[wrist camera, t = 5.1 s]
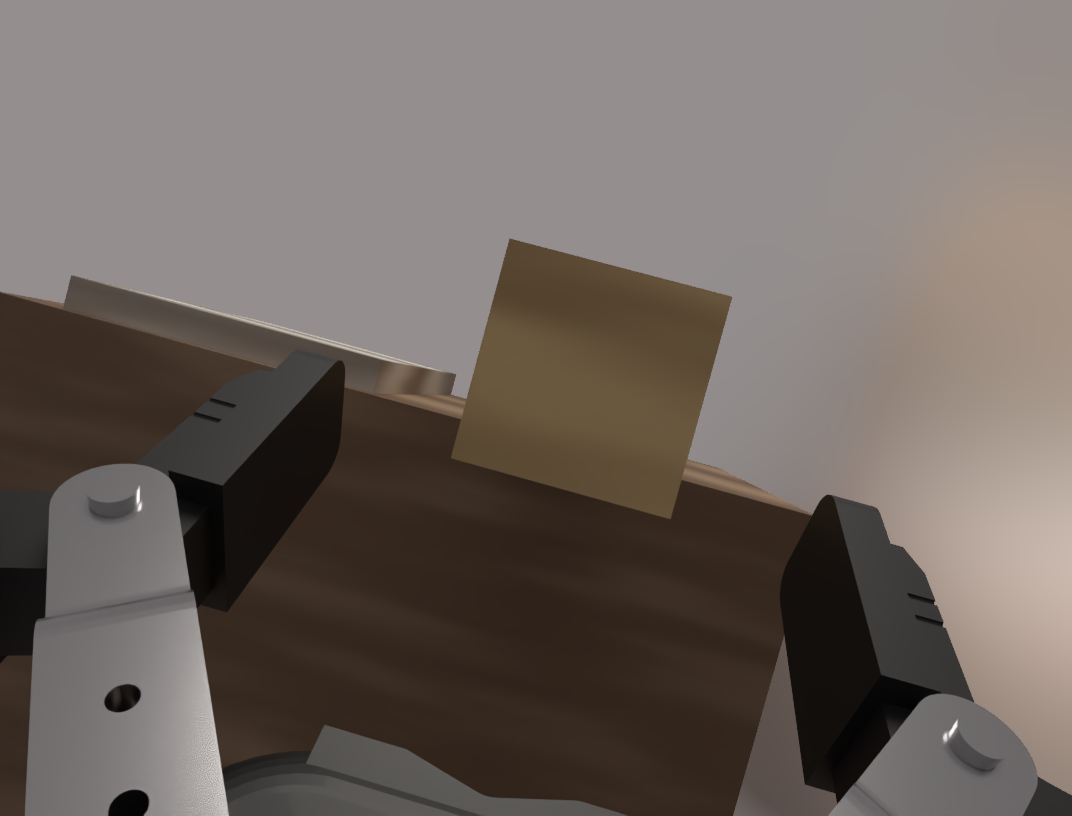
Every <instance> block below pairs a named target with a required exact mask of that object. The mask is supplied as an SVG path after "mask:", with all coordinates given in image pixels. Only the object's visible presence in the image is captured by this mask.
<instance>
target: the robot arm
mask: <svg viewBox="0 0 1072 816" xmlns="http://www.w3.org/2000/svg"><path fill="white" fill-rule="evenodd" d="M344 386H345V365H344V363H343V361H341V360H338V359H334V358H330V357H327V356H323V355H319V354H316V353H312V352H308V351H305V350H301V349H297V350H295V351H294V352H292V353H291V354H290V355H289V356H288V357H287V358H286V359H285V360H284V361H283V362H282V363H281V364H280V365H279V366H278V367H277V368H276V369H274V370H273V371H272V372H268V371H264V370H261V369H258V370H255V371H253V372H250V373H248V374H245V375H243V376H240V377H238V378H235V379H233V380H230V381H229V382H228V383H227V384H225V385H224V386H223V387H222V388H221V389H220V390H219V391H218V392H216V393H215V394H214V395H213V396H212V397H211V398H210V401H209V402H208V401H206V402H205V403H204V404H203V405H202V406H201V407H199V408H198V409H197V410H196V411H195V412H194V415H193V416H191V415H190V416H189V417H188V418H187V419H186V420H185V421H183V422H182V423H181V424H180V425H179V426H178V427H177V428H176V429H174V430H173V431H172V432H171V433H170V434H169V435H168V436H166V437H165V438H164V439H163V440H162V441H161V442H160V443H159V444H157V445H156V446H155V447H154V448H153V449H152V450H151V451H149V452H148V453H147V454H146V455H145V456H144V457H143V458H142V459H140V460H139V461H138V462H137V463H136V464H112V465H105V466H100V467H96V468H92V469H90V470H87V471H84V472H82V473H79V474H77V475H75V476H73V477H72V478H70V479H69V480H67V481H66V482H64V483H63V484H62V485H61V486H60V487H59V488H58V489H57V490H56V491H55V492H35V491H11V490H0V663H1V662H2V661H3V660H4V659H5V658H6V657H7V656H33V660H32V680H31V701H30V721H29V741H28V761H27V781H26V801H25V816H628V815H625V814H621V813H618V812H615V811H611V810H608V809H605V808H601V807H598V806H595V805H591V804H588V803H585V802H581V801H574V800H546V799H517V798H494V797H488V796H485V795H482V794H480V793H478V792H476V791H475V790H473V789H471V788H470V787H468V786H466V785H465V784H463V783H461V782H460V781H458V780H456V779H455V778H453V777H451V776H450V775H448V774H446V773H445V772H443V771H441V770H440V769H438V768H437V767H435V766H433V765H432V764H430V763H428V762H427V761H425V760H423V759H422V758H420V757H418V756H417V755H415V754H413V753H412V752H410V751H408V750H407V749H404V748H400V747H397V746H394V745H390V744H387V743H384V742H380V741H377V740H374V739H370V738H367V737H364V736H360V735H357V734H354V733H350V732H347V731H344V730H340V729H337V728H334V727H330V726H327V725H324V727H323V729H322V731H321V733H320V735H319V737H318V739H317V741H316V744H315V746H314V748H313V750H312V751H289V752H278V753H272V754H267V755H262V756H257V757H253V758H250V759H247V760H244V761H241V762H237V763H234V764H231V765H229V766H227V767H225V768H221V761H220V755H219V749H218V742H217V736H216V729H215V723H214V717H213V710H212V704H211V697H210V691H209V685H208V678H207V672H206V665H205V659H204V653H203V646H202V640H201V633H200V627H199V621H198V614H197V608H198V607H199V606H200V605H203V606H206V607H209V608H213V609H216V610H220V611H223V612H228V610H229V609H230V608H231V606H232V605H233V604H234V602H235V601H236V600H237V598H238V597H239V595H240V594H241V593H242V591H243V590H244V589H245V587H246V586H247V584H248V583H249V582H250V580H251V579H252V578H253V576H254V575H255V573H256V572H257V571H258V569H259V568H260V567H261V565H262V564H263V562H264V561H265V560H266V558H267V557H268V556H269V554H270V553H271V551H272V550H273V549H274V547H275V546H276V545H277V543H278V542H279V540H280V539H281V538H282V536H283V535H284V534H285V532H286V531H287V529H288V528H289V527H290V525H291V524H292V523H293V521H294V520H295V518H296V517H297V516H298V514H299V513H300V512H301V510H302V509H303V507H304V506H305V505H306V503H307V502H308V501H309V499H310V498H311V497H312V495H313V494H314V492H315V491H316V490H317V488H318V487H319V486H320V484H321V483H322V481H323V480H324V479H325V477H326V476H327V475H328V473H329V471H330V470H331V468H332V466H333V464H334V461H335V459H336V456H337V453H338V449H339V445H340V440H341V428H342V414H343V400H344ZM934 602H935V599H934V596H933V594H932V591H931V588H930V586H929V583H928V581H927V578H926V575H925V573H924V572H923V571H922V570H921V569H920V567H919V566H918V565H917V564H916V563H915V561H914V560H913V559H912V558H911V556H910V555H909V554H908V553H907V552H906V551H905V549H904V548H903V547H900V546H896V545H893V544H890V541H889V538H888V536H887V532H886V529H885V527H884V524H883V521H882V518H881V515H880V513H879V511H878V509H877V508H875V507H873V506H869V505H865V504H862V503H858V502H854V501H851V500H847V499H843V498H840V497H836V496H832V495H826V496H825V497H823V499H822V500H821V501H820V502H819V504H818V506H817V507H816V509H815V511H814V513H813V515H812V517H811V519H810V521H809V522H808V524H807V526H806V528H805V530H804V532H803V534H802V536H801V538H800V540H799V541H798V543H797V545H796V547H795V549H794V551H793V553H792V555H791V557H790V559H789V561H788V563H787V565H786V567H785V570H784V573H783V577H782V581H781V587H780V606H781V613H782V621H783V628H784V635H785V643H786V650H787V657H788V665H789V671H790V679H791V686H792V693H793V701H794V708H795V715H796V723H797V730H798V737H799V744H800V752H801V759H802V767H803V774H804V781H805V785H809V786H812V787H816V788H819V789H822V790H826V791H829V792H833V793H836V799H837V806H836V807H835V808H834V809H833V811H832V812H831V813H830V814H829V816H1072V795H1070V794H1068V793H1066V792H1064V791H1062V790H1061V789H1059V788H1057V787H1055V786H1053V785H1051V784H1049V783H1048V782H1046V781H1044V780H1043V779H1041V778H1039V777H1038V776H1037V771H1036V767H1035V765H1034V762H1033V760H1032V758H1031V756H1030V754H1029V752H1028V750H1027V749H1026V747H1025V746H1024V745H1023V743H1022V742H1021V740H1020V739H1019V738H1018V737H1017V736H1016V735H1015V733H1014V732H1013V731H1012V730H1011V729H1010V728H1009V727H1008V726H1007V725H1006V724H1004V723H1003V722H1002V721H1001V720H1000V719H998V718H997V717H996V716H995V715H993V714H992V713H990V712H989V711H987V710H986V709H985V708H983V707H981V706H979V705H977V704H976V703H974V700H973V698H972V695H971V693H970V690H969V687H968V685H967V682H966V680H965V677H964V675H963V672H962V669H961V667H960V664H959V661H958V659H957V656H956V654H955V651H954V648H953V646H952V643H951V640H950V638H949V635H948V633H947V630H946V628H943V620H942V617H941V614H940V612H939V609H938V607H937V606H936V605H934Z"/></svg>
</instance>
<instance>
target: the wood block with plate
mask: <svg viewBox="0 0 1072 816" xmlns="http://www.w3.org/2000/svg"><path fill="white" fill-rule="evenodd" d="M731 300H732V297H731V296H727V295H723V294H719V293H716V292H711V291H708V290H704V289H700V288H696V287H692V286H689V285H685V284H681V283H677V282H674V281H670V280H665V279H662V278H658V277H654V276H650V275H647V274H643V273H639V272H635V271H631V270H627V269H624V268H620V267H616V266H612V265H608V264H604V263H601V262H597V261H593V260H589V259H585V258H581V257H578V256H574V255H570V254H566V253H563V252H559V251H555V250H551V249H547V248H543V247H540V246H536V245H532V244H528V243H524V242H520V241H517V240H513V239H510V240H509V243H508V247H507V250H506V254H505V258H504V262H503V265H502V269H501V273H500V277H499V281H498V284H497V288H496V291H495V295H494V299H493V302H492V306H491V310H490V314H489V317H488V322H487V325H486V329H485V332H484V336H483V340H482V343H481V347H480V351H479V355H478V358H477V362H476V366H475V370H474V373H473V377H472V381H471V384H470V388H469V392H468V396H467V399H466V403H465V407H464V410H463V414H462V418H461V422H460V425H459V429H458V433H457V437H456V440H455V444H454V448H453V451H452V455H451V458H452V459H456V460H459V461H463V462H466V463H470V464H474V465H477V466H481V467H484V468H488V469H492V470H495V471H499V472H502V473H506V474H510V475H513V476H517V477H520V478H524V479H528V480H531V481H535V482H538V483H542V484H546V485H549V486H553V487H556V488H560V489H564V490H567V491H571V492H574V493H578V494H582V495H585V496H589V497H592V498H596V499H600V500H603V501H607V502H610V503H614V504H618V505H621V506H625V507H628V508H632V509H636V510H639V511H643V512H646V513H650V514H654V515H657V516H661V517H664V518H668V519H671V516H672V512H673V508H674V505H675V501H676V498H677V494H678V490H679V487H680V483H681V480H682V476H683V472H684V469H685V465H686V462H687V458H688V454H689V450H690V447H691V444H692V440H693V436H694V433H695V429H696V425H697V422H698V418H699V415H700V411H701V408H702V404H703V400H704V396H705V393H706V389H707V386H708V382H709V379H710V375H711V372H712V368H713V364H714V361H715V357H716V354H717V350H718V346H719V343H720V339H721V335H722V332H723V328H724V325H725V321H726V317H727V314H728V310H729V307H730V303H731Z"/></svg>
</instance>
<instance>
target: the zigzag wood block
mask: <svg viewBox="0 0 1072 816" xmlns="http://www.w3.org/2000/svg"><path fill="white" fill-rule="evenodd" d="M297 349H301V350H305V351H308V352H312V353H316V354H319V355H323V356H327V357H330V358H334V359H338V360H341V361H343V363H344V365H345V386H344V400H343V414H342V428H341V440H340V445H339V449H338V453H337V456H336V459H335V461H334V464H333V466H332V468H331V470H330V471H329V473H328V475H327V476H326V477H325V479H324V480H323V481H322V483H321V484H320V486H319V487H318V488H317V490H316V491H315V492H314V494H313V495H312V497H311V498H310V499H309V501H308V502H307V503H306V505H305V506H304V507H303V509H302V510H301V512H300V513H299V514H298V516H297V517H296V518H295V520H294V521H293V523H292V524H291V525H290V527H289V528H288V529H287V531H286V532H285V534H284V535H283V536H282V538H281V539H280V540H279V542H278V543H277V545H276V546H275V547H274V549H273V550H272V551H271V553H270V554H269V556H268V557H267V558H266V560H265V561H264V562H263V564H262V565H261V567H260V568H259V569H258V571H257V572H256V573H255V575H254V576H253V578H252V579H251V580H250V582H249V583H248V584H247V586H246V587H245V589H244V590H243V591H242V593H241V594H240V595H239V597H238V598H237V600H236V601H235V602H234V604H233V605H232V606H231V608H230V609H229V610H228V612H223V611H220V610H216V609H213V608H209V607H206V606H203V605H200V606H199V607H198V608H197V614H198V621H199V627H200V633H201V640H202V646H203V653H204V659H205V665H206V672H207V678H208V685H209V691H210V697H211V704H212V710H213V717H214V723H215V729H216V736H217V742H218V749H219V755H220V761H221V768H225V767H227V766H229V765H231V764H234V763H237V762H241V761H244V760H247V759H250V758H253V757H257V756H262V755H267V754H272V753H278V752H289V751H312V750H313V748H314V746H315V744H316V741H317V739H318V737H319V735H320V733H321V731H322V729H323V727H324V725H327V726H330V727H334V728H337V729H340V730H344V731H347V732H350V733H354V734H357V735H360V736H364V737H367V738H370V739H374V740H377V741H380V742H384V743H387V744H390V745H394V746H397V747H400V748H404V749H407V750H408V751H410V752H412V753H413V754H415V755H417V756H418V757H420V758H422V759H423V760H425V761H427V762H428V763H430V764H432V765H433V766H435V767H437V768H438V769H440V770H441V771H443V772H445V773H446V774H448V775H450V776H451V777H453V778H455V779H456V780H458V781H460V782H461V783H463V784H465V785H466V786H468V787H470V788H471V789H473V790H475V791H476V792H478V793H480V794H482V795H485V796H488V797H494V798H517V799H546V800H574V801H581V802H585V803H588V804H591V805H595V806H598V807H601V808H605V809H608V810H611V811H615V812H618V813H621V814H625V815H628V816H733V813H734V810H735V806H736V803H737V799H738V796H739V792H740V788H741V785H742V782H743V778H744V775H745V771H746V768H747V764H748V761H749V757H750V753H751V750H752V746H753V743H754V739H755V736H756V732H757V729H758V725H759V722H760V718H761V715H762V711H763V708H764V704H765V700H766V697H767V693H768V690H769V686H770V683H771V679H772V676H773V672H774V669H775V665H776V662H777V658H778V654H779V651H780V647H781V644H782V640H783V637H784V628H783V621H782V613H781V606H780V587H781V581H782V577H783V573H784V570H785V567H786V565H787V563H788V561H789V559H790V557H791V555H792V553H793V551H794V549H795V547H796V545H797V543H798V541H799V540H800V538H801V536H802V534H803V532H804V530H805V528H806V526H807V524H808V522H809V521H810V519H811V517H812V514H810V513H808V512H806V511H804V510H802V509H800V508H798V507H796V506H794V505H792V504H790V503H788V502H786V501H784V500H782V499H780V498H778V497H776V496H774V495H772V494H770V493H768V492H766V491H764V490H761V489H760V488H758V487H756V486H754V485H752V484H749V483H748V482H745V481H744V480H742V479H740V478H737V477H736V476H734V475H731V474H729V473H728V472H725V471H723V470H721V469H719V468H716V467H712V466H709V465H705V464H702V463H698V462H695V461H691V460H687V462H686V465H685V469H684V472H683V476H682V480H681V483H680V487H679V490H678V494H677V498H676V501H675V505H674V508H673V512H672V516H671V519H668V518H664V517H661V516H657V515H654V514H650V513H646V512H643V511H639V510H636V509H632V508H628V507H625V506H621V505H618V504H614V503H610V502H607V501H603V500H600V499H596V498H592V497H589V496H585V495H582V494H578V493H574V492H571V491H567V490H564V489H560V488H556V487H553V486H549V485H546V484H542V483H538V482H535V481H531V480H528V479H524V478H520V477H517V476H513V475H510V474H506V473H502V472H499V471H495V470H492V469H488V468H484V467H481V466H477V465H474V464H470V463H466V462H463V461H459V460H456V459H452V458H451V455H452V451H453V448H454V444H455V440H456V437H457V433H458V429H459V425H460V422H461V418H462V414H463V410H464V407H465V403H466V399H464V398H460V397H457V396H453V395H451V392H452V388H453V385H454V381H455V377H456V374H453V373H449V372H446V371H442V370H438V369H435V368H431V367H428V366H424V365H420V364H416V363H413V362H409V361H405V360H402V359H398V358H394V357H391V356H387V355H383V354H380V353H376V352H372V351H369V350H365V349H361V348H358V347H354V346H350V345H347V344H343V343H339V342H335V341H332V340H328V339H324V338H321V337H317V336H313V335H310V334H306V333H302V332H299V331H295V330H291V329H287V328H284V327H280V326H277V325H273V324H269V323H266V322H262V321H257V320H254V319H250V318H246V317H242V316H237V315H233V314H229V313H225V312H220V311H217V310H213V309H208V308H204V307H200V306H196V305H192V304H187V303H184V302H180V301H175V300H171V299H167V298H163V297H159V296H155V295H150V294H147V293H142V292H138V291H134V290H130V289H126V288H122V287H118V286H113V285H109V284H105V283H101V282H97V281H93V280H89V279H84V278H80V277H76V276H71V279H70V283H69V287H68V291H67V295H66V299H65V303H64V304H63V303H58V302H52V301H47V300H42V299H36V298H31V297H25V296H20V295H14V294H9V293H3V292H0V490H11V491H35V492H55V491H56V490H57V489H58V488H59V487H60V486H61V485H62V484H63V483H64V482H66V481H67V480H69V479H70V478H72V477H73V476H75V475H77V474H79V473H82V472H84V471H87V470H90V469H92V468H96V467H100V466H105V465H112V464H136V463H137V462H138V461H139V460H140V459H142V458H143V457H144V456H145V455H146V454H147V453H148V452H149V451H151V450H152V449H153V448H154V447H155V446H156V445H157V444H159V443H160V442H161V441H162V440H163V439H164V438H165V437H166V436H168V435H169V434H170V433H171V432H172V431H173V430H174V429H176V428H177V427H178V426H179V425H180V424H181V423H182V422H183V421H185V420H186V419H187V418H188V417H189V416H190V415H191V416H193V415H194V412H195V411H196V410H197V409H198V408H199V407H201V406H202V405H203V404H204V403H205V402H206V401H208V402H209V401H210V398H211V397H212V396H213V395H214V394H215V393H216V392H218V391H219V390H220V389H221V388H222V387H223V386H224V385H225V384H227V383H228V382H229V381H230V380H233V379H235V378H238V377H240V376H243V375H245V374H248V373H250V372H253V371H255V370H258V369H261V370H264V371H268V372H272V371H273V370H274V369H276V368H277V367H278V366H279V365H280V364H281V363H282V362H283V361H284V360H285V359H286V358H287V357H288V356H289V355H290V354H291V353H292V352H294V351H295V350H297ZM32 660H33V656H7V657H6V658H5V659H4V660H3V661H2V662H1V663H0V816H25V801H26V781H27V761H28V741H29V721H30V701H31V680H32Z"/></svg>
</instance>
